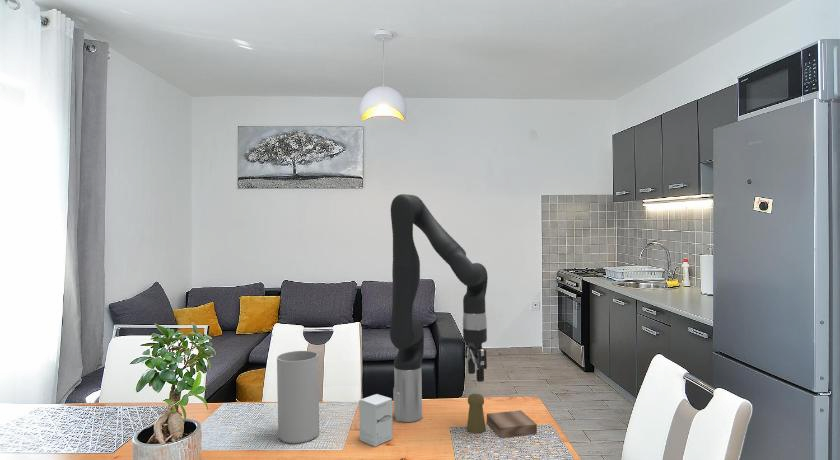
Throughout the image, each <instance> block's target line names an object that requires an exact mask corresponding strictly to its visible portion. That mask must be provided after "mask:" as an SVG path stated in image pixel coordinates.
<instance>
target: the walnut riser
mask: <svg viewBox="0 0 840 460" xmlns="http://www.w3.org/2000/svg"><path fill="white" fill-rule="evenodd" d="M486 425H488V426H489V427H490V428H491V429H492V430H493V432H495V434H496V435H497V436H498V437H499V438H500V439H503V438H504V439H505V438H511V437H512V438H513V437H520V436H521V437H522V436H529V435H537V433H538V424H537V423H536V422H535V421H533V419H532V418H530V417H529V416H528V415H527V414H525V413H524V412H523V411H522V410H509V411H501V412H489V413H486Z"/></svg>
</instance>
